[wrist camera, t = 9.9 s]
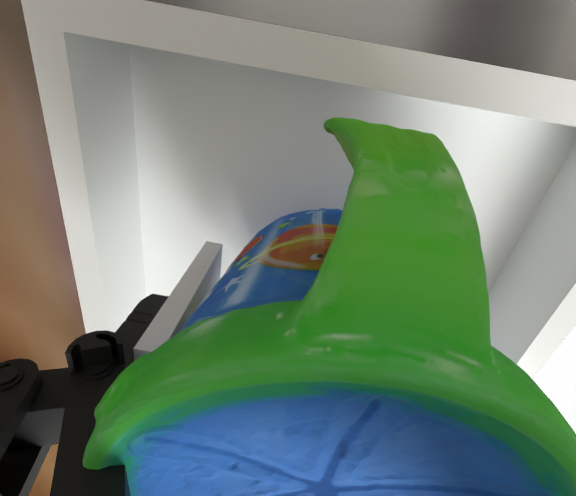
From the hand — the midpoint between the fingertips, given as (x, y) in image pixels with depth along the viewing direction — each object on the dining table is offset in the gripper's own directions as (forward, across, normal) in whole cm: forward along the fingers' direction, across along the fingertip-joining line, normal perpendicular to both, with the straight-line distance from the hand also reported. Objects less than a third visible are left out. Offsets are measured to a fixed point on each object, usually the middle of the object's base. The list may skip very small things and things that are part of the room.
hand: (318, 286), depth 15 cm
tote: (+4, 0, +6) cm, 8 cm away
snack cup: (+1, 0, 0) cm, 1 cm away
